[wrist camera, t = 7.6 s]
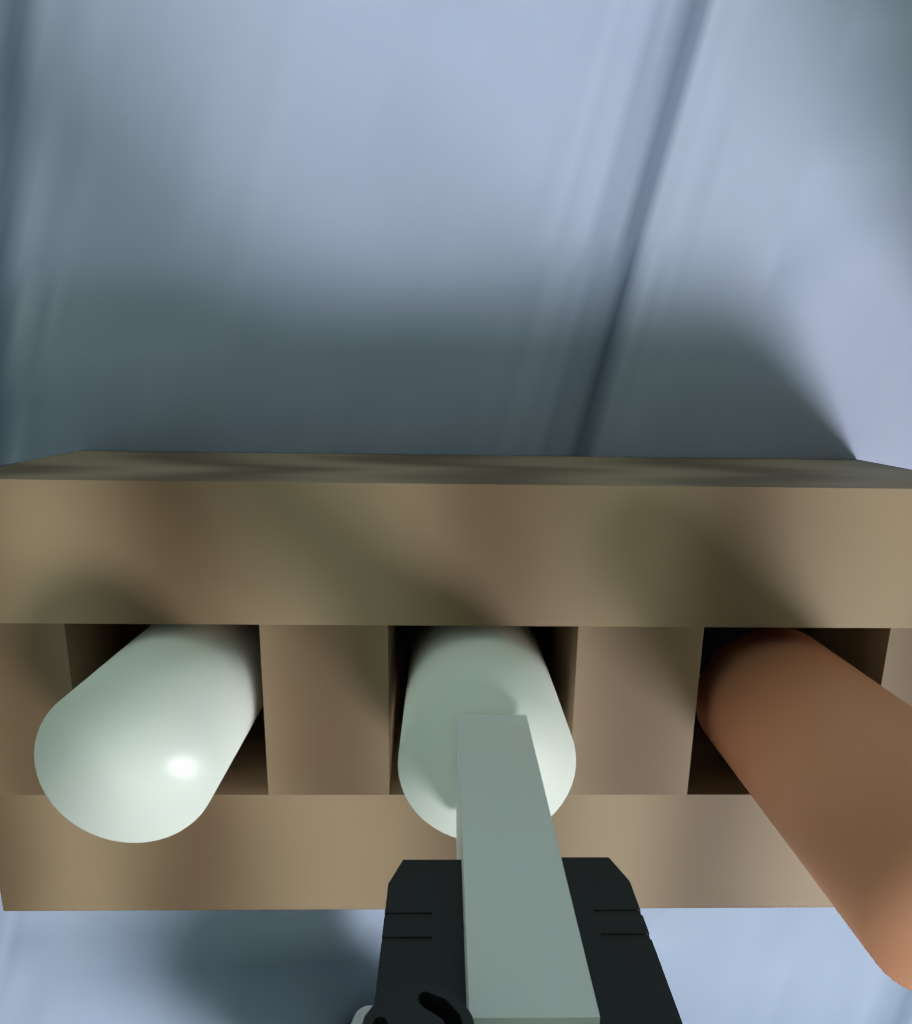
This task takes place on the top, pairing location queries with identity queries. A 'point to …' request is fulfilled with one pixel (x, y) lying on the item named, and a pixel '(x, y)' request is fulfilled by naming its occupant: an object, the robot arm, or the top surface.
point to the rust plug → (823, 774)
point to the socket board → (432, 602)
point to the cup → (361, 1015)
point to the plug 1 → (152, 731)
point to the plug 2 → (476, 711)
